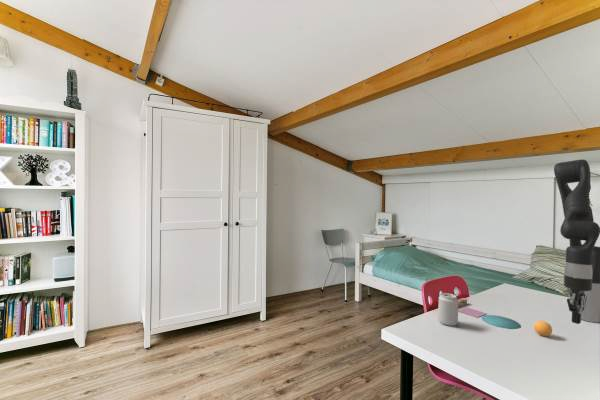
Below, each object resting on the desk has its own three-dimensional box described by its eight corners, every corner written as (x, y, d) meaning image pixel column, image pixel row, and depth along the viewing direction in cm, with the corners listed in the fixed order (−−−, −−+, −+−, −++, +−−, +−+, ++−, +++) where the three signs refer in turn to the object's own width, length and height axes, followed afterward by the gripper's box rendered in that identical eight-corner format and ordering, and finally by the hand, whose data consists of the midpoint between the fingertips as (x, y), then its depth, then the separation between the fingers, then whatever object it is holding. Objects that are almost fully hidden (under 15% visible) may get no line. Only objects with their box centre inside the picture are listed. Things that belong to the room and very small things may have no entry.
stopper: (462, 302, 154) (463, 297, 154) (466, 303, 152) (467, 299, 152) (440, 309, 143) (440, 304, 143) (444, 311, 141) (444, 305, 141)
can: (453, 320, 131) (454, 292, 131) (460, 327, 123) (461, 298, 123) (435, 319, 131) (436, 291, 131) (441, 326, 124) (442, 297, 124)
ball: (537, 331, 122) (537, 317, 122) (554, 336, 117) (554, 322, 117) (531, 334, 119) (532, 320, 118) (549, 339, 114) (549, 325, 114)
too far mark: (467, 307, 146) (467, 307, 146) (487, 314, 139) (487, 313, 139) (457, 311, 141) (457, 310, 141) (477, 317, 134) (477, 317, 134)
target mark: (490, 313, 140) (490, 312, 140) (526, 324, 128) (526, 323, 128) (475, 319, 132) (475, 318, 132) (511, 331, 121) (511, 331, 121)
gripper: (570, 271, 116) (569, 316, 116) (558, 274, 109) (556, 322, 109) (597, 275, 110) (595, 323, 110) (586, 279, 103) (584, 330, 103)
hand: (576, 322), depth 109 cm, fingers closed
